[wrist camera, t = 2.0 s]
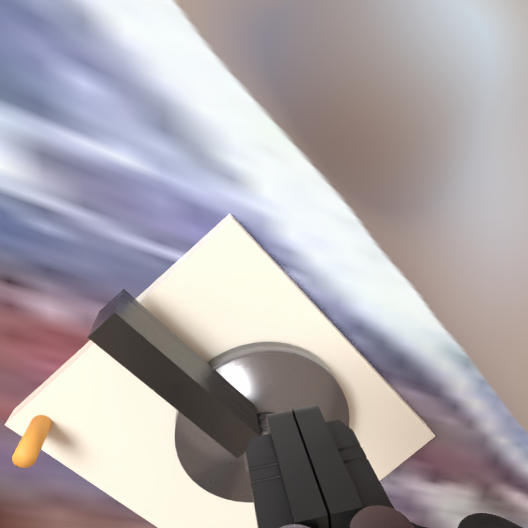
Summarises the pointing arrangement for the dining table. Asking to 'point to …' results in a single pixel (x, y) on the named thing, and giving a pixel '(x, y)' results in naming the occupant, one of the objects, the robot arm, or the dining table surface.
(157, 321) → the dial
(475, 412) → the dining table surface
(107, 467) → the dial base
